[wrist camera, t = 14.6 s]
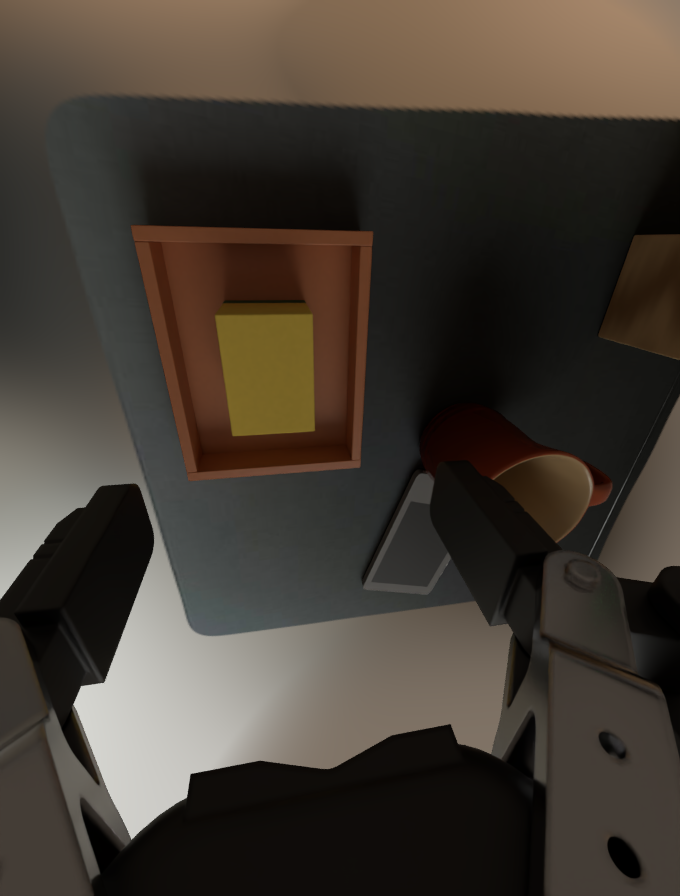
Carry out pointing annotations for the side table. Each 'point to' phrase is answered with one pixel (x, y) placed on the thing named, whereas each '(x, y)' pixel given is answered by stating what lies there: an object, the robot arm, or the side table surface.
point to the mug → (516, 465)
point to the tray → (258, 278)
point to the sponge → (267, 365)
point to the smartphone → (409, 545)
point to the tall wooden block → (647, 297)
